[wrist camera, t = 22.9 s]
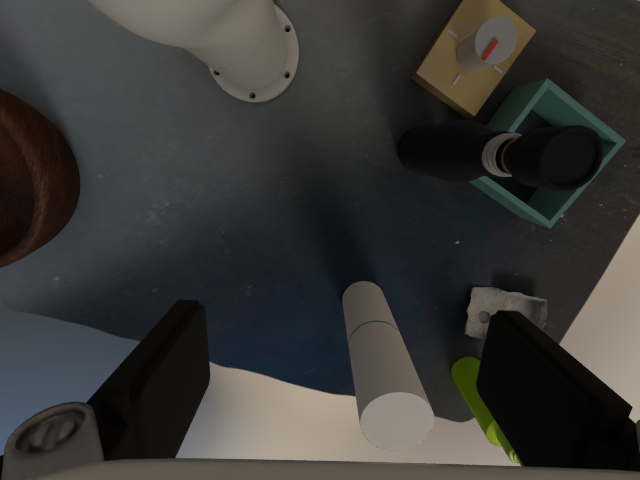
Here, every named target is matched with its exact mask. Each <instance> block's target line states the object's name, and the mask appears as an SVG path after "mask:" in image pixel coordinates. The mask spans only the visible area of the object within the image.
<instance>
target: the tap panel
mask: <svg viewBox="0 0 640 480" xmlns="http://www.w3.org/2000/svg"><path fill="white" fill-rule="evenodd" d="M495 16H503V17H506V18H508V19H510V20H511V21H512V22H513V23H514V25H515V27H516V30H517V42H516V45H515V48H514V50H513V52H512V53H511V54H510V56H509V57H508V58H507V59H505V60H504V61H502V62H500V63H498V64H495V65H493V66H491V67H489V68H486V69H484V70H482V71H480V72H476V73H470V72H467V71H465V70H463V69H462V68H461V66H460V65H459V63H458V60H457V49H458V46H459V44H460V42H461V40H462V39H463V38H464V37H465V36H466V35H467V34H468V33H470V32H471V31H473V30H474V29H475V28H477V27H478V26H479V25H481V24H482V23H483V22H485V21H486V20H488V19H489V18H492V17H495ZM535 32H536V30H535V29H533V28H532V27H531V26H530V25H528V24H527V23H526V22H525V21H524V20H522V19H521V18H520V17H519V16H518V15H516V14H515V13H514V12H513V11H512V10H510V9H509V8H508V7H507V6H505V5H504V4H503V3H502V2H501V1H499V0H459V2H458V3H457V5H456V7H455V8H454V10H453V11H452V13H451V14H450V16H449V17H448V19H447V21H446V22H445V24H444V25H443V27H442V28H441V30H440V31H439V33H438V35H437V36H436V38H435V39H434V41H433V42H432V44H431V45H430V47H429V49H428V50H427V52H426V53H425V55H424V56H423V58H422V59H421V61H420V63H419V64H418V66H417V67H416V69H415V70H414V72H413V73H412V75H411V77H410V78H411V79H413V80H414V81H415V82H417V83H418V84H419V85H421V86H422V87H423V88H425V89H426V90H428V91H429V92H430V93H432V94H433V95H434V96H436V97H437V98H438V99H440V100H441V101H443V102H444V103H445V104H447V105H448V106H449V107H451V108H452V109H453V110H455V111H456V112H458V113H459V114H460V115H462V116H463V117H464V118H468V117H474V116H475V115H476V114H477V113H478V111H479V110H480V108H481V107H482V106H483V104H484V103H485V101H486V100H487V99H488V97H489V96H490V94H491V93H492V92H493V90H494V89H495V88H496V86H497V85H498V83H499V82H500V81H501V79H502V78H503V76H504V75H505V74H506V72H507V71H508V69H509V68H510V67H511V65H512V64H513V62H514V61H515V60H516V58H517V57H518V56H519V54H520V53H521V51H522V50H523V49H524V47H525V46H526V44H527V43H528V42H529V40H530V39H531V37H532V36H533V35H534V33H535Z"/></svg>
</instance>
